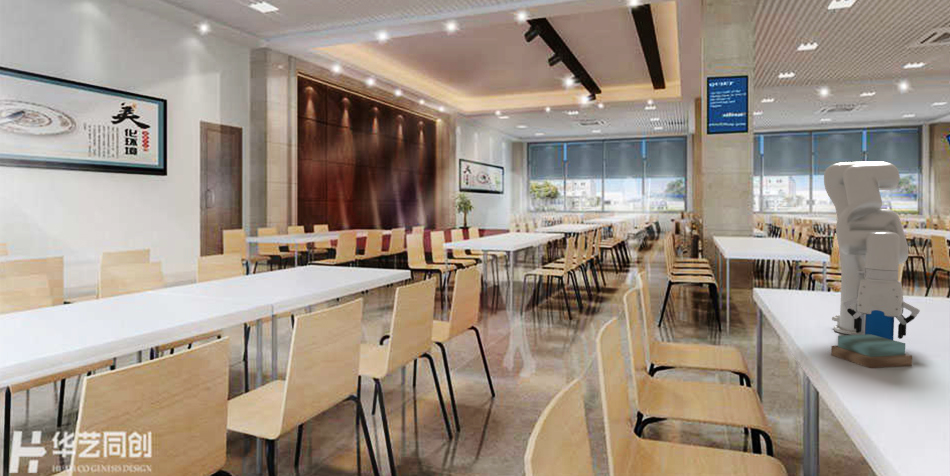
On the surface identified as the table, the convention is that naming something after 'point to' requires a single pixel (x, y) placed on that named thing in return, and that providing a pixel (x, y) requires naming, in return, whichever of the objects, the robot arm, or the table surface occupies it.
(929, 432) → the table surface
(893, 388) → the table surface
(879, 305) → the robot arm
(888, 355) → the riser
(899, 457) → the table surface
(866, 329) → the beverage can
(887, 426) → the table surface
